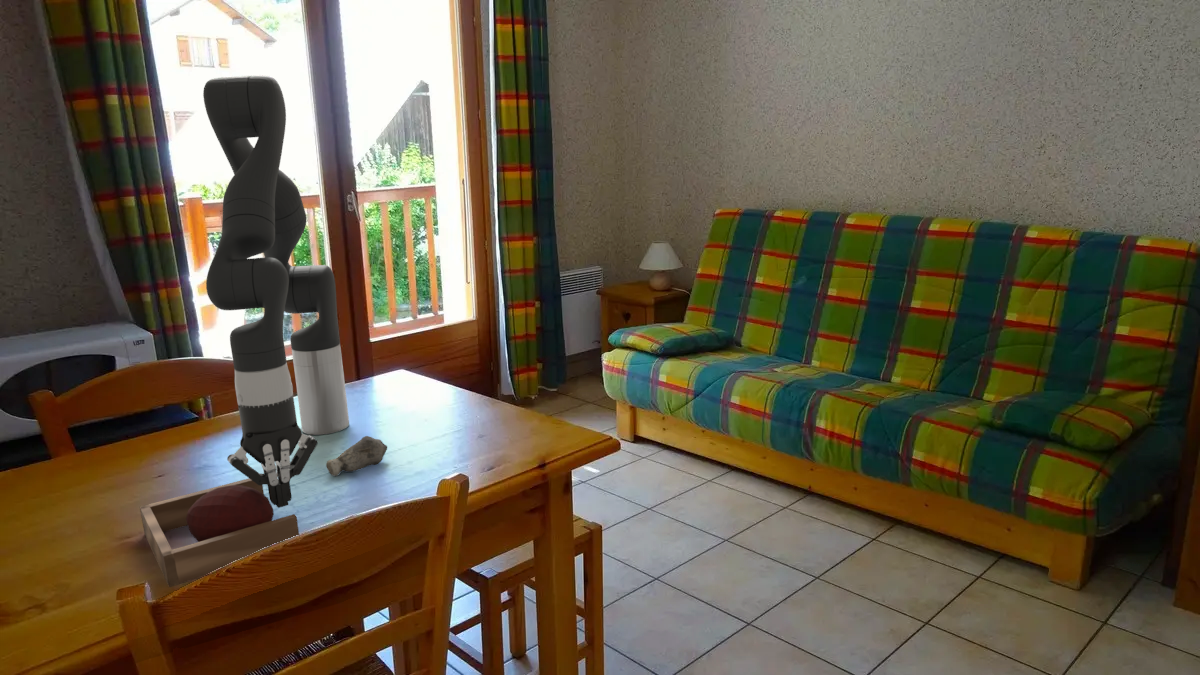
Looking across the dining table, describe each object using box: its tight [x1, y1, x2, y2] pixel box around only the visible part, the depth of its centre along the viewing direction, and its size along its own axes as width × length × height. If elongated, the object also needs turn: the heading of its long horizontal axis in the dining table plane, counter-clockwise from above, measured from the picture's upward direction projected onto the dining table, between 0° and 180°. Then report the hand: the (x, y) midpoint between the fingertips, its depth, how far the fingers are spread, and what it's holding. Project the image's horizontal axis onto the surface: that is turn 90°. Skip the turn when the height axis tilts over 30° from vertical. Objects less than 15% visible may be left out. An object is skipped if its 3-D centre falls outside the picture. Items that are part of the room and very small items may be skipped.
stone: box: [325, 435, 388, 477], centre depth 144 cm, size 10×5×8 cm
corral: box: [139, 477, 300, 588], centre depth 119 cm, size 19×17×4 cm
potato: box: [186, 485, 275, 542], centre depth 118 cm, size 12×11×8 cm
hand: (281, 504), depth 122 cm, fingers closed
